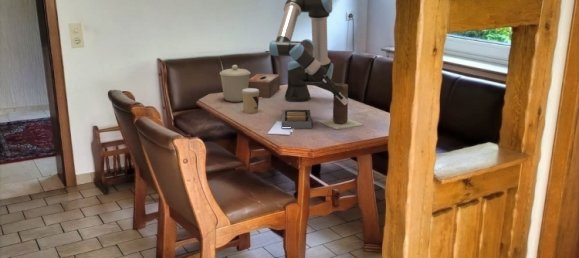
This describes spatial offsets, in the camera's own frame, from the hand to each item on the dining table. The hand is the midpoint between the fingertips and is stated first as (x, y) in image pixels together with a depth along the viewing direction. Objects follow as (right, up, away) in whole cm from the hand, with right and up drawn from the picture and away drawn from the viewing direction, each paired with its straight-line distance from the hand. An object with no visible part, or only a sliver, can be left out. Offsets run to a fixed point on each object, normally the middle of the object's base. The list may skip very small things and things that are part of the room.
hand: (345, 100), depth 278 cm
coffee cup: (-49, -5, +28) cm, 56 cm away
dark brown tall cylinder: (-2, -11, +4) cm, 12 cm away
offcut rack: (-24, -11, +6) cm, 27 cm away
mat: (-2, -12, +3) cm, 12 cm away
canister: (-60, +3, +54) cm, 81 cm away
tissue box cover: (-44, +8, +72) cm, 85 cm away
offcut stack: (-24, -13, 0) cm, 28 cm away
